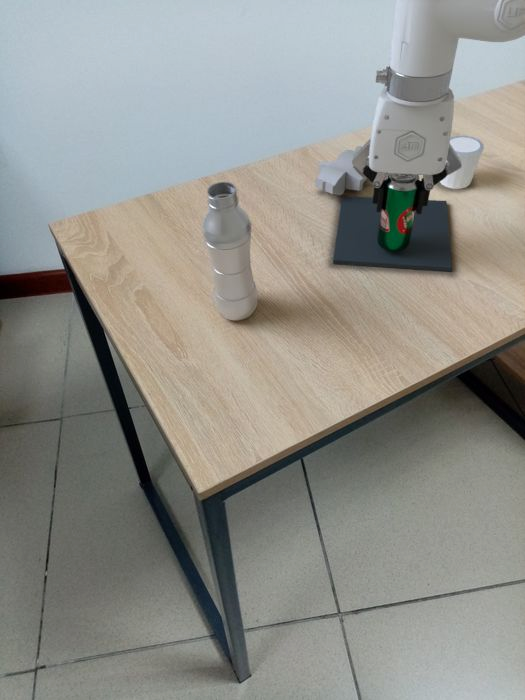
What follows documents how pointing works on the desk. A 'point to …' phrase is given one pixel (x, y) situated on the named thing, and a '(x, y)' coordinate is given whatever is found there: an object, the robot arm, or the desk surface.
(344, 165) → the grey irregular branched block
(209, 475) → the desk surface
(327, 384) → the desk surface
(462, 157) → the shot glass
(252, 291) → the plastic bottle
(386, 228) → the soda can
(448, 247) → the mat
